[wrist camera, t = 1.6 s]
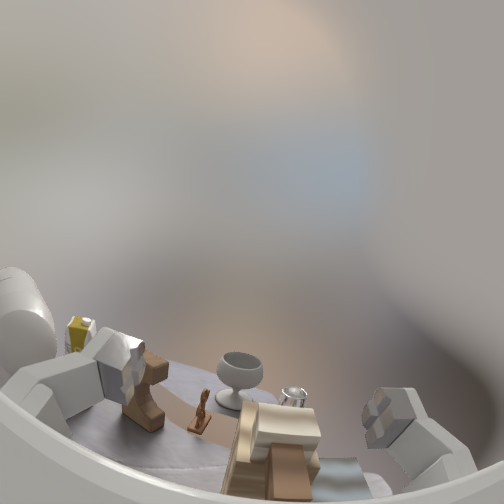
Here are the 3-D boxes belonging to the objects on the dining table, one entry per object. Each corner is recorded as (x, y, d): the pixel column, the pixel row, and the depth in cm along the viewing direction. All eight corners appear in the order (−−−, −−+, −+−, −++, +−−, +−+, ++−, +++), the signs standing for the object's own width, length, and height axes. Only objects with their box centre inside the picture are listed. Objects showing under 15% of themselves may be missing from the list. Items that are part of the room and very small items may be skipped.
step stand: (341, 544, 26) (411, 460, 24) (212, 541, 26) (236, 460, 25) (330, 498, 40) (379, 411, 38) (220, 491, 40) (243, 400, 39)
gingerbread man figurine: (201, 435, 59) (206, 400, 58) (186, 430, 59) (191, 395, 59) (211, 418, 67) (217, 384, 67) (198, 413, 68) (203, 380, 67)
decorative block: (165, 425, 59) (170, 361, 58) (150, 433, 54) (153, 368, 53) (136, 405, 64) (138, 343, 63) (121, 411, 58) (120, 347, 58)
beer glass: (298, 439, 62) (313, 397, 62) (275, 444, 60) (290, 400, 59) (286, 426, 69) (299, 384, 68) (264, 429, 66) (277, 386, 65)
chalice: (250, 417, 71) (261, 375, 70) (205, 404, 74) (212, 362, 73) (259, 395, 85) (268, 357, 84) (219, 384, 88) (226, 346, 87)
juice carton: (95, 407, 56) (92, 327, 55) (68, 402, 53) (62, 321, 52) (98, 389, 65) (98, 314, 64) (74, 384, 62) (71, 309, 61)
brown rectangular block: (318, 516, 17) (337, 489, 16) (246, 513, 17) (257, 487, 16) (302, 436, 31) (312, 408, 31) (251, 430, 31) (258, 402, 31)
